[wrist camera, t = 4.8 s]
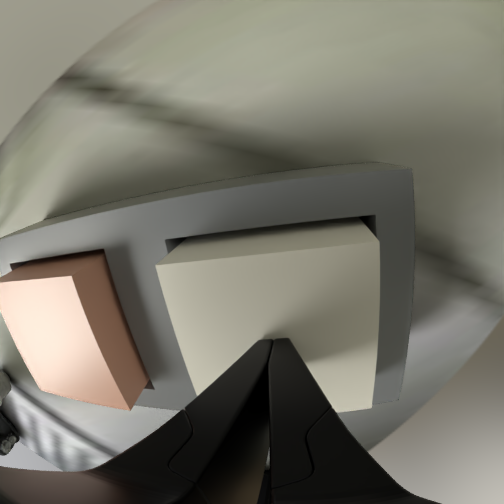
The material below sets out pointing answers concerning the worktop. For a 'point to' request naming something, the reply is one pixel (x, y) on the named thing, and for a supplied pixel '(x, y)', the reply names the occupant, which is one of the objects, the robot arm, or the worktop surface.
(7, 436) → the can opener
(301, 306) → the cream key
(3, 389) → the lightbulb
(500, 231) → the worktop surface
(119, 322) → the terracotta key
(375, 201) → the keypad
